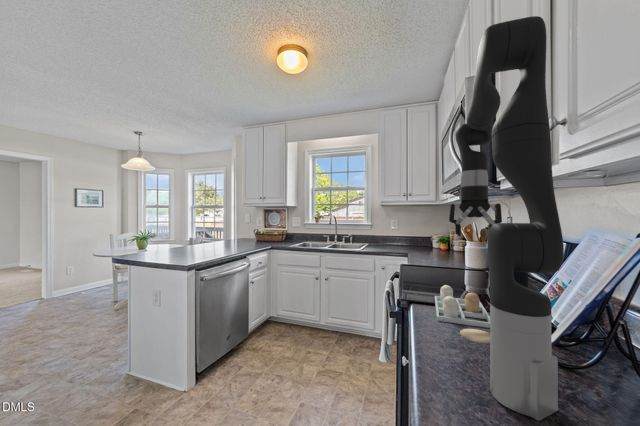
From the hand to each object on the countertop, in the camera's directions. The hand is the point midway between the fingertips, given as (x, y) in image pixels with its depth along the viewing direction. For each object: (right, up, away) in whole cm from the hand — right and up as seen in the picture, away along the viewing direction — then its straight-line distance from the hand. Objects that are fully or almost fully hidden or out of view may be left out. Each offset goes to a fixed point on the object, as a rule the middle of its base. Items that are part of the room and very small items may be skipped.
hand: (474, 236), depth 83 cm
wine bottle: (+20, -29, +9) cm, 36 cm away
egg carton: (+1, -28, +10) cm, 30 cm away
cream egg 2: (-6, -28, +4) cm, 29 cm away
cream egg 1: (0, -28, +18) cm, 33 cm away
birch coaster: (-4, -28, -9) cm, 30 cm away
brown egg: (+4, -28, +9) cm, 29 cm away
